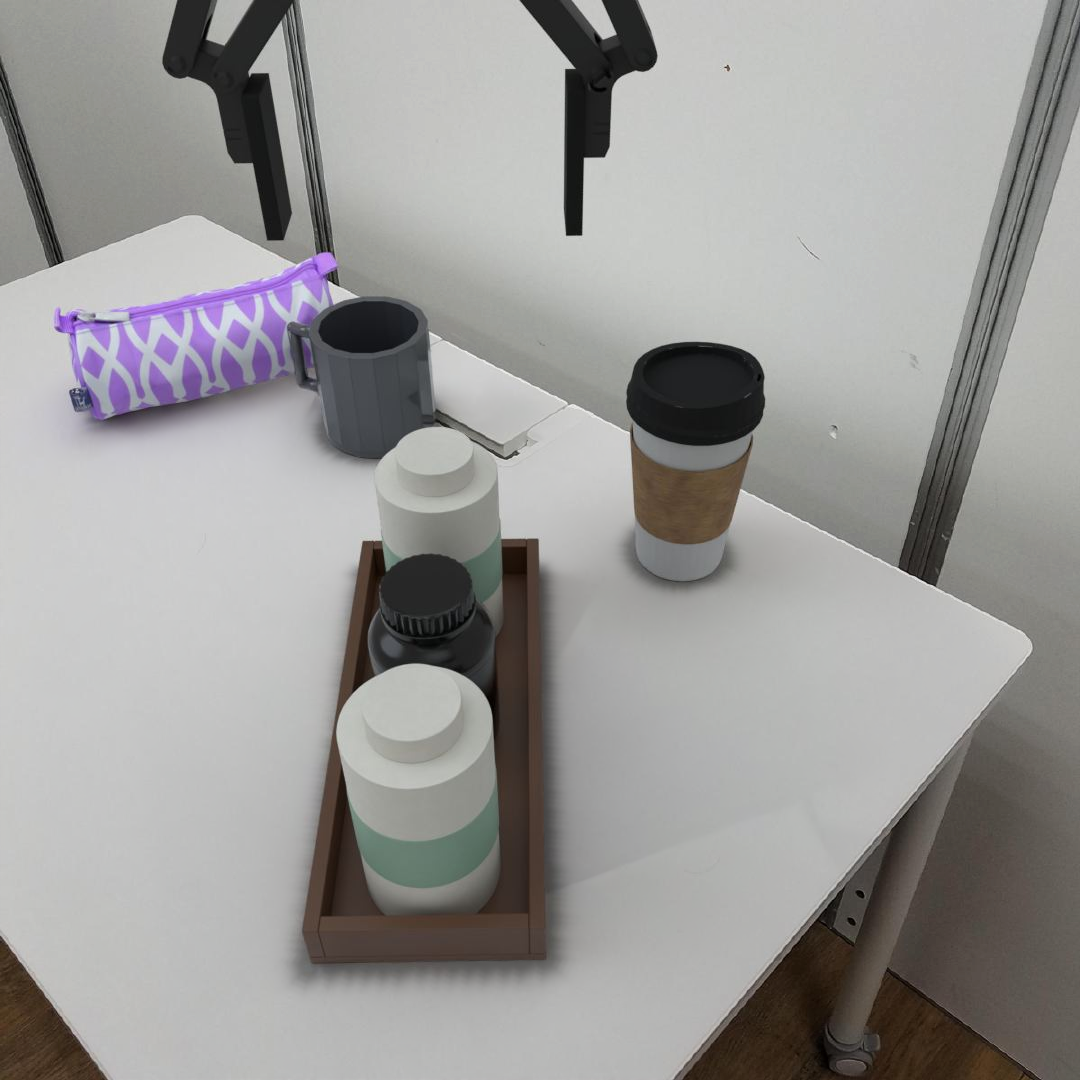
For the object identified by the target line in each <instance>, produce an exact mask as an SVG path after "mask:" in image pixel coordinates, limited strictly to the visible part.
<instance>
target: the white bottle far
mask: <svg viewBox="0 0 1080 1080" xmlns="http://www.w3.org/2000/svg"><path fill="white" fill-rule="evenodd" d="M498 471H499V470H498V465H497V462H496V460H495V458H494V456H493V455H492V454H491V453H490V451H489V450H487V449H486V448H485V447H483V446H482V445H480V444H478V443H477V442H474V441H472V440H471V438H469V437H468V436H467V435H466V434H465V433H464V432H461V431H459V430H457V429H454V428H451V427H445V426H435V427H428V428H423V429H419V430H416V431H413V432H411V433H409V434H408V435H406V436H405V437H403V438H402V439H401V440H400V441H399V443H398V444H397V446H396V447H395V448H394V449H392V450H391V451H389V452H388V453H387V454H386V455H385V456H384V457H383V458H380V460H379V462H378V463H377V465H376V468H375V471H374V477H373V478H374V479H373V480H374V486H375V495H376V503H377V509H378V517H379V522H380V536H381V541H382V544H383V552H384V559H385V566H386V572H387V571H388V570H390V568H391V566H393V565H395V564H396V563H397V562H399V561H402V560H403V559H405V558H408V557H411V556H413V555H420V554H430V553H432V554H441V555H443V556H449V557H450V558H453V559H456V561H457V562H460V563H462V565H463V566H464V567H465V568H467V572H469V573H470V575H471V579H472V581H473V590H474V593H475V596H476V598H478V599H479V600H480V601H481V602H482V603H483V604H484V606H485V607H486V608H487V610H488V611H489V613H490V615H491V617H492V619H493V623H494V627H495V636H497V635H498V634H499V632H500V630H501V627H502V624H503V619H504V615H503V590H502V573H503V571H502V547H501V539H502V527H501V526H502V525H501V518H500V500H499V499H500V497H499V496H500V495H499V475H498V474H499V473H498Z"/></svg>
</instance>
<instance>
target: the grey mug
mask: <svg viewBox="0 0 1080 1080" xmlns="http://www.w3.org/2000/svg"><path fill="white" fill-rule="evenodd" d="M429 327H430V326H429V320H428V318H427V316H426V315H425V313H424V311H423V310H422V308H420V307H418V306H417V305H415V304H413V303H411V302H410V301H408V300H405V299H401V298H396V297H391V296H385V295H382V296H381V295H380V296H376V295H375V296H372V295H371V296H369V295H368V296H367V295H365V296H364V295H363V296H357V297H353V298H349V299H343V300H341V301H339V302H337V303H335V304H334V303H333V305H332V306H330V307H328V308H326V309H324V310H323V311H322V312H321V313H319V314H318V315H317V316H316V317H315V318H314V319H313V320H312V323H311V325H307V324H303V323H298V322H294V321H293V322H290V323H288V325H287V333H288V338H289V344H290V349H291V354H292V360H293V365H294V371H295V373H294V377H295V381H296V385H297V387H298V388H299V389H302V390H306V391H310V392H314V393H318V397H319V402H320V408H321V414H322V421H323V425H324V428H325V432H326V436H327V438H328V440H329V442H330V443H331V444H332V445H333V446H334V447H335V448H336V449H338V450H339V451H341V452H343V453H345V454H347V455H350V456H353V457H358V458H364V459H382V458H383V457H384V456H385V455H386V454H387V453H388V452H389V451H391V450H392V449H394V448H395V447H396V446H397V444H398V443H399V441H400V440H401V439H402V438H403V437H405V436H406V435H408V434H409V433H411V432H413V431H416V430H419V429H423V428H428V427H436V423H437V421H436V420H437V419H436V415H437V410H436V399H435V398H436V397H435V388H434V387H435V386H434V375H433V362H432V351H431V339H430V329H429ZM302 337H304V338H308V339H310V344H311V350H312V356H313V362H314V367H313V368H314V373H315V378H313V377H310V376H309V371H308V370H309V369H307V364H306V359H305V353H304V347H303V341H302Z"/></svg>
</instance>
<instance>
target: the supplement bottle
mask: <svg viewBox="0 0 1080 1080" xmlns="http://www.w3.org/2000/svg"><path fill="white" fill-rule="evenodd" d="M379 596H380V609H379V610H378V611H377V613H376V614H375V616H374V618H373V620H372V622H371V625H370V628H369V632H368V648H369V655H370V661H371V667H372V672H373V678H374V677H375V676H377V675H380V674H382V673H384V672H385V671H387V670H389V669H391V668H394V667H397V666H401V665H406V664H426V665H431V666H437V667H442V668H446V669H449V670H452V671H454V672H457V673H459V674H461V675H463V676H465V677H466V678H468V679H469V680H471V681H472V682H473V683H474V684H475V685H476V686H477V687H478V688H479V689H480V690H481V691H482V692H483V694H484V695H485V697H486V699H487V700H488V703H489V705H490V708H491V712H492V719H493V737H494V741H495V739H496V736H497V734H498V730H499V724H500V706H499V688H498V670H497V652H496V636H495V627H494V623H493V619H492V617H491V615H490V613H489V611H488V610H487V608H486V607H485V606H484V604H483V603H482V602H481V601H480V600H479V599H478V598H476V596H475V593H474V590H473V581H472V579H471V575H470V573H469V572H467V568H465V567H464V566H463V565H462V563H460V562H457V561H456V559H453V558H450V557H449V556H443V555H441V554H432V553H430V554H420V555H413V556H411V557H408V558H405V559H403V560H402V561H399V562H397V563H396V564H395V565H393V566H391V568H390V570H388V571H387V572H386V574H385V576H384V577H383V578H382V582H381V583H380V591H379Z"/></svg>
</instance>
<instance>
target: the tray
mask: <svg viewBox="0 0 1080 1080" xmlns="http://www.w3.org/2000/svg"><path fill="white" fill-rule="evenodd" d="M501 547H502V571H503V573H502V590H503V615H504V619H503V624H502V627H501V630H500V632H499V634H498V635H497V636H496V652H497V670H498V688H499V706H500V724H499V730H498V734H497V736H496V739H495V741H494V755H495V765H496V772H497V790H498V808H499V844H500V863H501V870H500V877H499V881H498V884H497V887H496V889H495V891H494V893H493V895H492V896H491V898H490V899H489V901H488V902H487V903H486V905H485V906H484V907H483V908H482V909H481V910H480V911H479V912H477V913H476V914H448V915H385V914H384V913H382V912H381V911H380V909H379V908H378V907H377V906H376V905H375V903H374V901H373V900H372V898H371V895H370V893H369V890H368V886H367V882H366V877H365V872H364V867H363V863H362V858H361V853H360V850H359V847H358V843H357V839H356V834H355V830H354V825H353V820H352V815H351V811H350V806H349V801H348V796H347V787H346V781H345V777H344V772H343V767H342V762H341V757H340V753H339V748H338V743H337V734H336V730H337V723H338V719H339V715H340V713H341V711H342V709H343V707H344V705H345V703H346V702H347V700H348V699H349V698H350V697H351V695H352V694H353V693H354V692H355V691H356V690H357V689H358V688H359V687H360V686H362V685H363V684H364V683H366V682H367V681H369V680H370V679H372V678H373V672H372V667H371V661H370V655H369V648H368V632H369V628H370V625H371V622H372V620H373V618H374V616H375V614H376V613H377V611H378V610H379V609H380V596H379V591H380V583H381V582H382V578H383V577H384V576H385V574H386V566H385V559H384V552H383V544H382V540H362V541H361V547H360V548H361V549H360V554H359V560H358V566H357V574H356V581H355V587H354V591H353V592H354V594H353V599H352V606H351V612H350V619H349V625H348V632H347V639H346V645H345V650H344V651H345V652H344V656H343V657H344V658H343V664H342V669H341V670H342V671H341V677H340V682H339V683H340V684H339V690H338V697H337V702H336V710H335V715H334V722H333V729H332V734H331V739H330V740H331V741H330V746H329V754H328V759H327V760H328V761H327V767H326V773H325V780H324V785H323V786H324V787H323V792H322V799H321V805H320V812H319V817H318V818H319V819H318V824H317V829H316V838H315V845H314V851H313V855H312V856H313V857H312V863H311V870H310V877H309V883H308V889H307V895H306V902H305V907H304V915H303V922H302V927H301V933H302V936H303V940H304V944H305V947H306V950H307V953H308V957H309V959H310V963H311V964H326V963H329V964H330V963H388V962H389V963H390V962H392V963H393V962H395V963H397V962H451V961H453V962H455V961H459V962H461V961H462V962H463V961H515V960H517V961H518V960H522V961H523V960H546V959H547V926H546V925H547V924H546V921H547V918H546V868H545V867H546V866H545V865H546V864H545V861H546V859H545V812H544V809H545V807H544V755H543V753H544V751H543V750H544V749H543V702H542V700H543V699H542V698H543V696H542V695H543V694H542V647H541V646H542V645H541V643H542V642H541V640H542V639H541V593H540V591H541V588H540V586H541V585H540V583H541V582H540V539H539V538H531V537H530V538H501Z"/></svg>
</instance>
